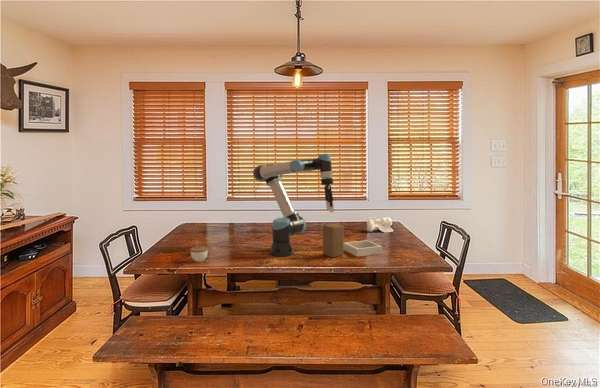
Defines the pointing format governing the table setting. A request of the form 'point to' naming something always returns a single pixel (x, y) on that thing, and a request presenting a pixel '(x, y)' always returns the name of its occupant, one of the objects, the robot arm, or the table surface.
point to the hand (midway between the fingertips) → (330, 211)
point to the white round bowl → (199, 253)
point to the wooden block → (333, 240)
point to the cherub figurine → (380, 225)
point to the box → (362, 248)
